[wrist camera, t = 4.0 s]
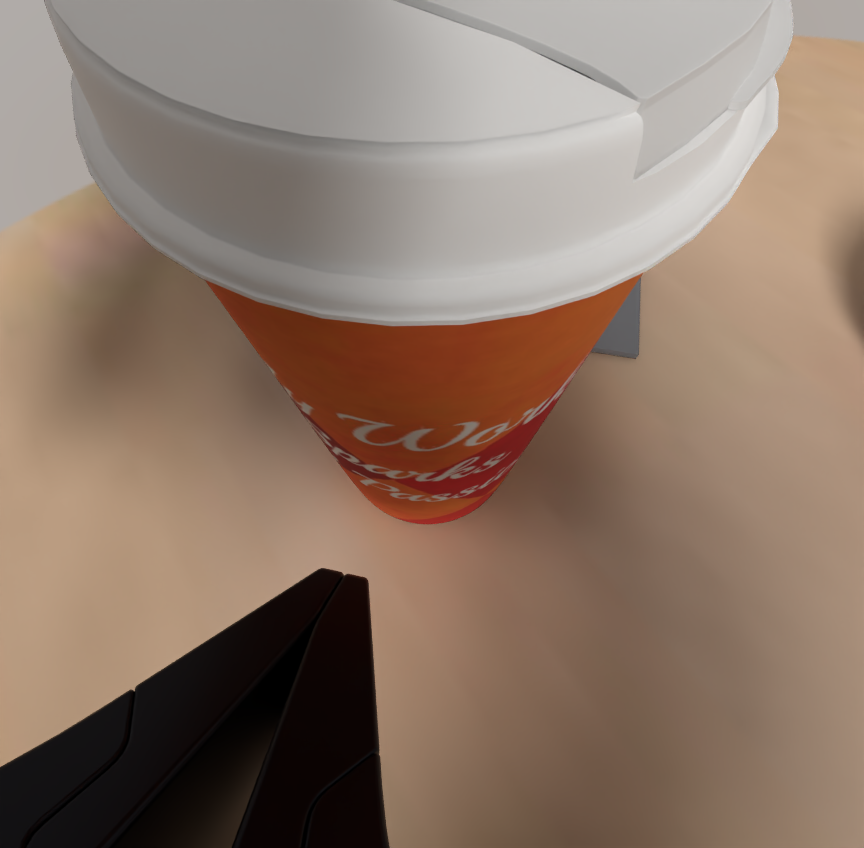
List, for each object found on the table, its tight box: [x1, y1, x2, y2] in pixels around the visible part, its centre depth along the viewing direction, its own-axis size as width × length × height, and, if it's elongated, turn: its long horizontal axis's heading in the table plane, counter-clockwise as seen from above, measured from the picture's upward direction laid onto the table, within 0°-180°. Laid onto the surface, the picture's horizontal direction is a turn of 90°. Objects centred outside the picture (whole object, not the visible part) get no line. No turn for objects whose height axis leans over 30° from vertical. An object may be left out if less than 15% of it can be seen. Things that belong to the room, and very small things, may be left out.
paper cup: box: [44, 0, 793, 524], centre depth 11 cm, size 8×8×14 cm
